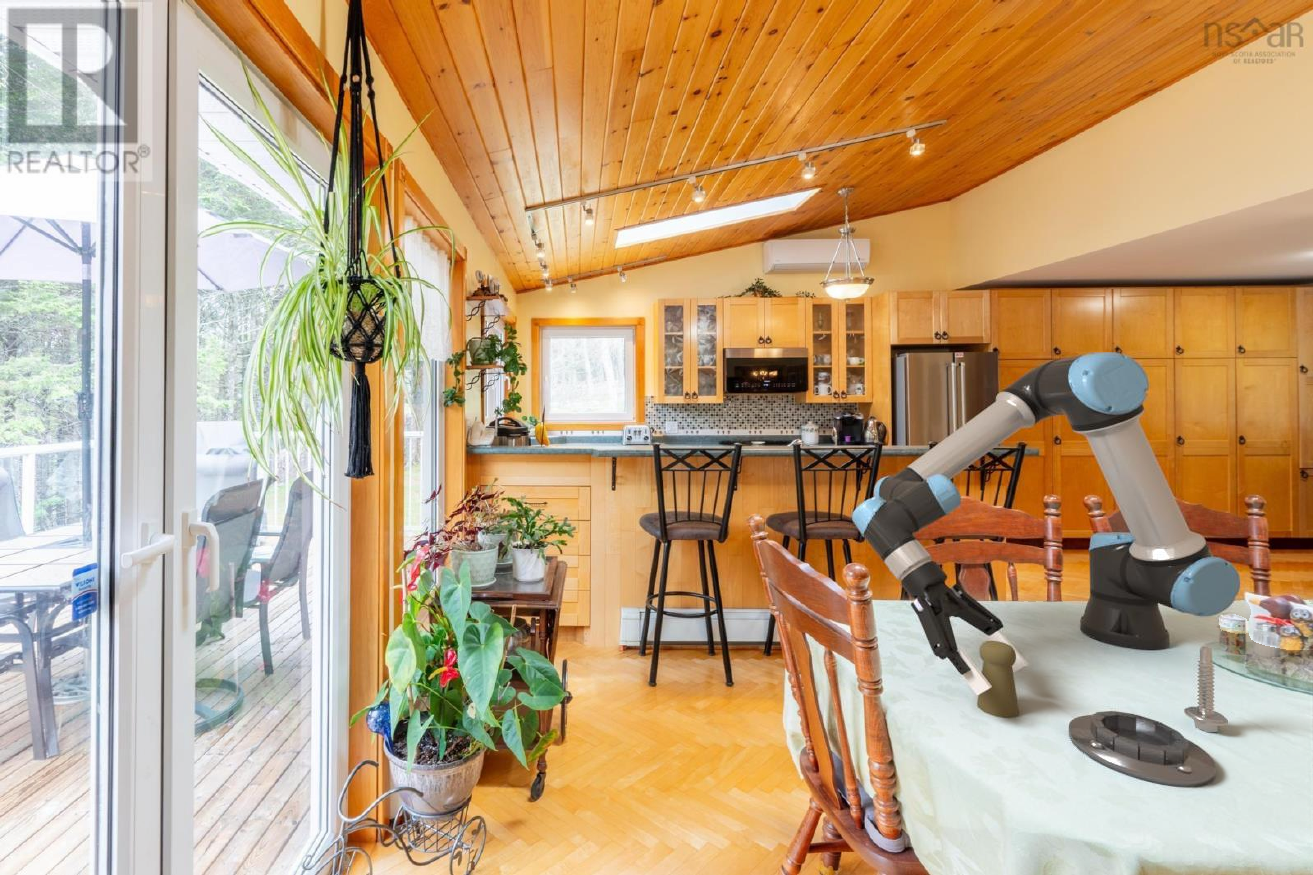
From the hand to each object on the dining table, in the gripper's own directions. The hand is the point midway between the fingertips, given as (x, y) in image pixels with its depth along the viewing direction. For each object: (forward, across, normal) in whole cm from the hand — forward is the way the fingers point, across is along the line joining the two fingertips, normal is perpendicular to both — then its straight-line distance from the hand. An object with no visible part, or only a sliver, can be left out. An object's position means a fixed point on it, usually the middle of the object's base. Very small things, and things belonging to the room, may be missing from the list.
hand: (1004, 679), depth 93 cm
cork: (+3, 0, -5) cm, 6 cm away
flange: (+15, -3, +8) cm, 18 cm away
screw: (+19, -19, +11) cm, 29 cm away
